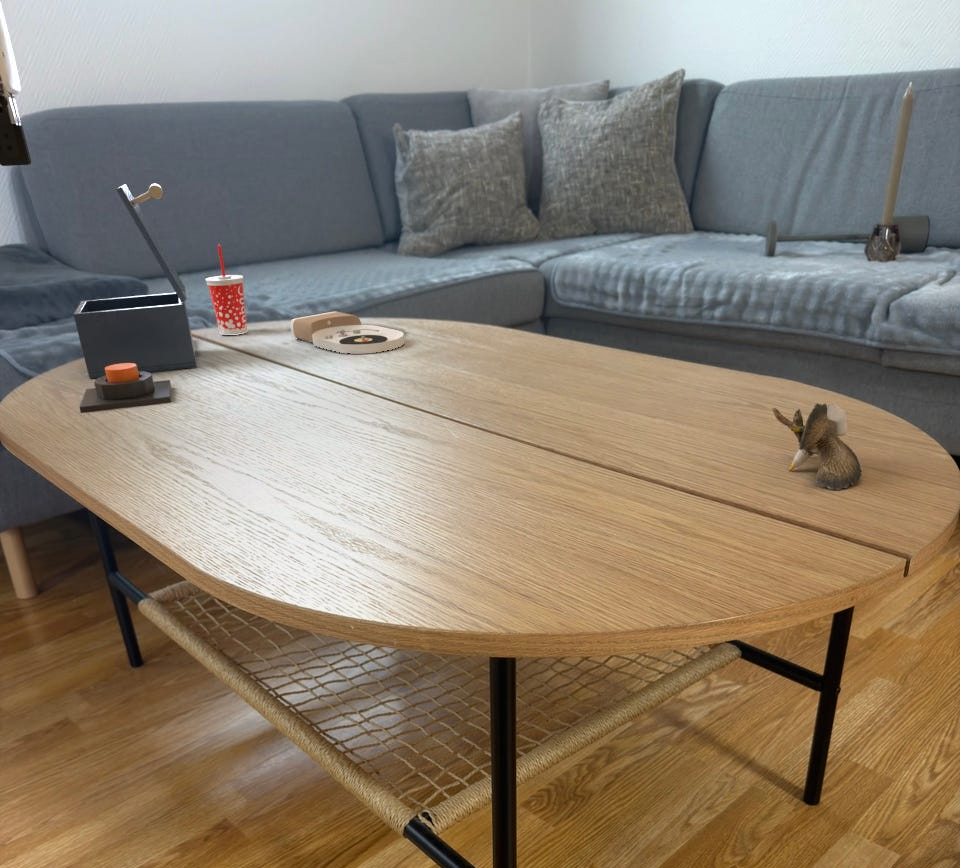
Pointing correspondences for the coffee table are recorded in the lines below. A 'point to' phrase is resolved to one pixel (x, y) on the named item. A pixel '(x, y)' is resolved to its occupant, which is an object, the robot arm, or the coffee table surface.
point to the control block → (125, 393)
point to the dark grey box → (135, 333)
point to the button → (121, 372)
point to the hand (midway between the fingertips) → (16, 164)
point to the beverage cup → (228, 301)
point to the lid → (152, 233)
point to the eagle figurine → (824, 445)
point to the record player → (345, 333)
